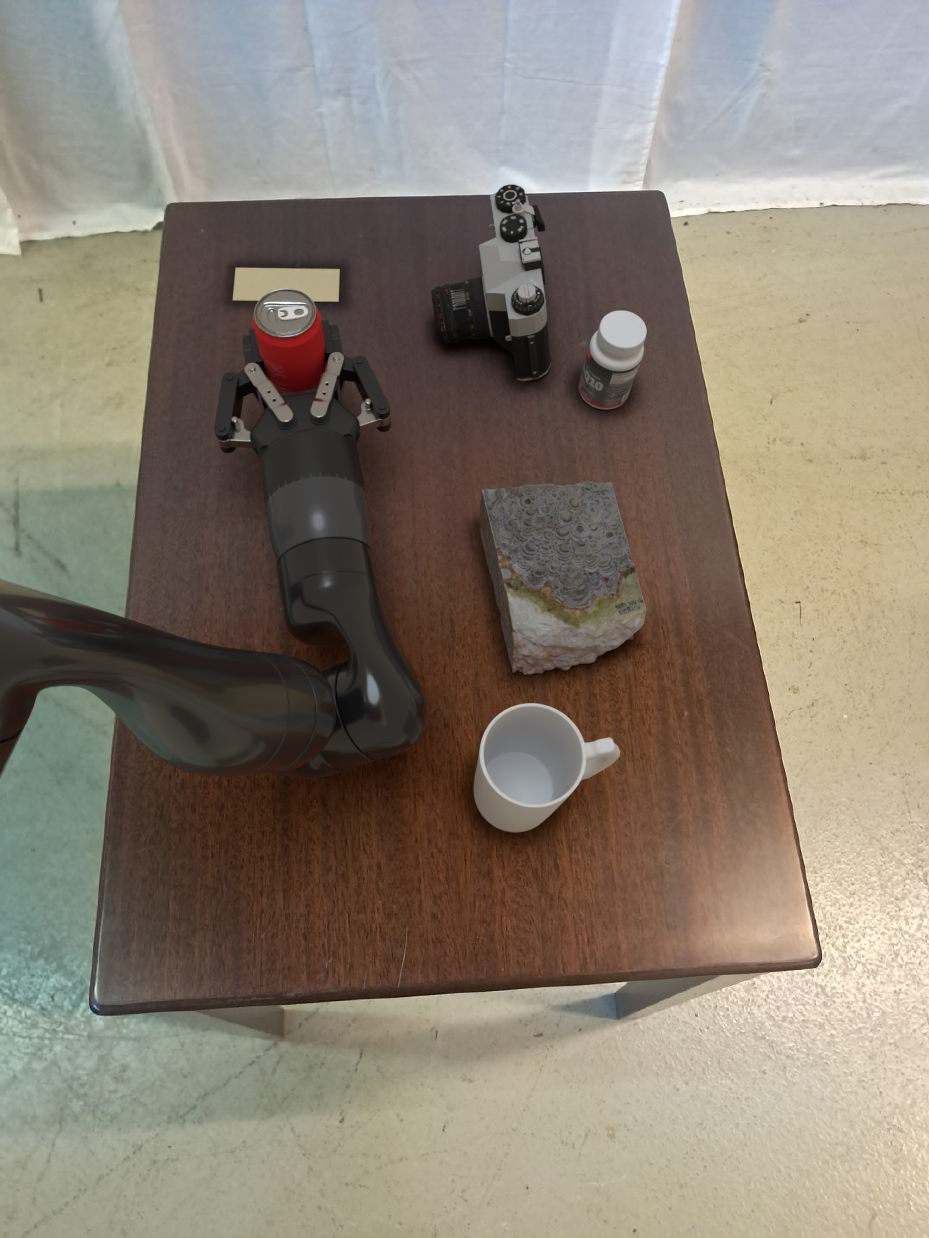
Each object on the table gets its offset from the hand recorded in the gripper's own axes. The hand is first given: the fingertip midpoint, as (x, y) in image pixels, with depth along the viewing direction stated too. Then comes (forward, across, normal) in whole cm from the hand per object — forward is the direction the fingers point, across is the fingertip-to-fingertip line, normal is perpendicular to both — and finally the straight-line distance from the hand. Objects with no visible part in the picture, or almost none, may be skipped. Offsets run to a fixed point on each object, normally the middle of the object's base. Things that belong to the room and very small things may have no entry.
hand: (289, 331), depth 71 cm
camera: (+5, -18, +8) cm, 21 cm away
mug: (-39, -13, +9) cm, 42 cm away
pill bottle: (-4, -27, +8) cm, 29 cm away
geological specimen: (-23, -18, +8) cm, 30 cm away
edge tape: (+13, 0, +8) cm, 15 cm away
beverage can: (-3, 0, +7) cm, 8 cm away
